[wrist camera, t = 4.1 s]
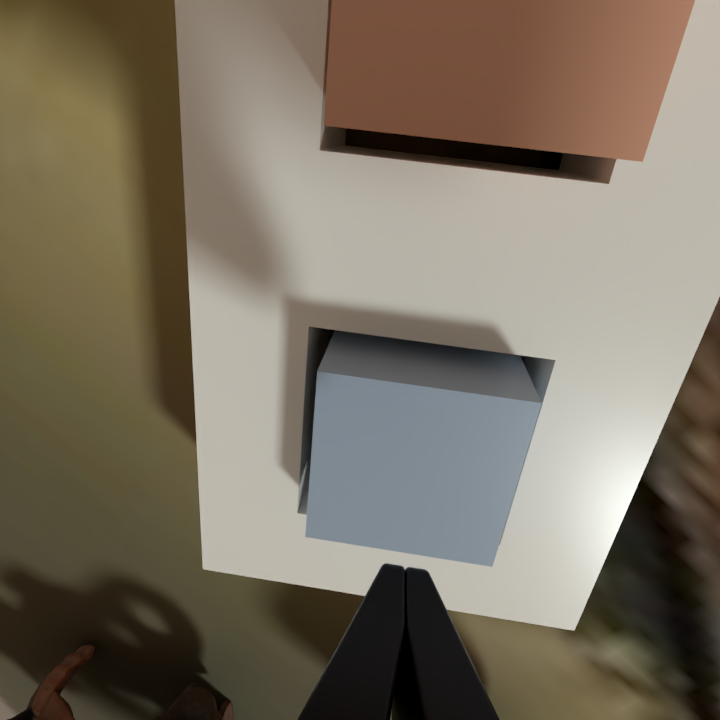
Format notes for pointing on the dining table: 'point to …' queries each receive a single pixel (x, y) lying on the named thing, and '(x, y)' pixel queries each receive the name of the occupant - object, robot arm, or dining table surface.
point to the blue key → (417, 446)
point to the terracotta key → (506, 70)
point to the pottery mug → (46, 707)
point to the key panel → (431, 300)
